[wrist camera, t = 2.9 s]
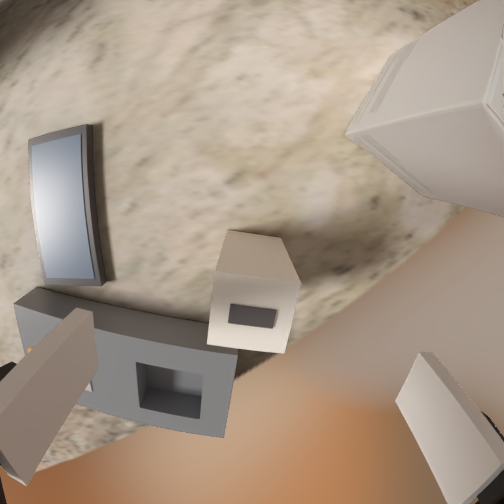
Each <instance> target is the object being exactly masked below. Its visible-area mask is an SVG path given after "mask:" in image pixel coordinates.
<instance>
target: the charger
mask: <svg viewBox="0 0 504 504" xmlns="http://www.w3.org/2000/svg"><path fill="white" fill-rule="evenodd" d="M300 286H301V282H300V279H299V277H298V275H297V273H296V270H295V268H294V266H293V264H292V261H291V259H290V257H289V255H288V253H287V250H286V248H285V246H284V244H283V242H282V239H281V238H278V237H272V236H265V235H259V234H252V233H245V232H238V231H232V230H227V233H226V236H225V240H224V243H223V246H222V250H221V253H220V256H219V260H218V263H217V266H216V270H215V276H214V284H213V293H212V301H211V310H210V319H209V329H208V338H207V344H209V345H216V346H223V347H230V348H238V349H246V350H254V351H263V352H273V353H284V352H285V348H286V345H287V341H288V337H289V333H290V329H291V325H292V320H293V316H294V312H295V308H296V304H297V300H298V295H299V291H300Z"/></svg>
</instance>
